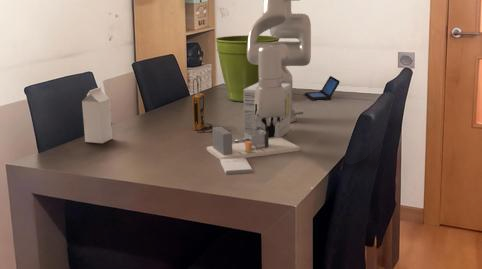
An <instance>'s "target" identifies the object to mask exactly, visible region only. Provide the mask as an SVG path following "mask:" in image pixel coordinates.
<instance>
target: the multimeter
mask: <svg viewBox="0 0 482 269" xmlns="http://www.w3.org/2000/svg"><path fill="white" fill-rule="evenodd" d="M198 78H199V79H198ZM199 80H200V81H202V77H200V76H196V78H193V81H192V85H193V86H192V90H193V93H195V87H194V84H195V81H196V94H193V95H192V102H191V103H192V125H193V130H194V131H196V132H197V133H201V134H203V133H208V132H212V128H213V127H214V126H212V124H211V123H208V125H209V126H208V128H211V129H208V130H205V131H201V130H202V129H203V128H204V127H205V126H206V125H207V123H206V121H205V120H206V117H205V116H206V115H205V94H204V93H202V91H200V86H199Z"/></svg>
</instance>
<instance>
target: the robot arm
mask: <svg viewBox="0 0 482 269" xmlns="http://www.w3.org/2000/svg"><path fill="white" fill-rule="evenodd" d="M292 1H293V2H294V1H298V2H299V0H263V2H262V4H263V5H262V13H261V14H262V15H261V16H260V17H259V18H258V19H257V20H256V21H255V22H254V24H253V25H252V26H251V28H250V30H249V32H248V43H247V59H248V61H249V62H250V63H251V64H255V65H259V87H256V91H255V97H254V115H256V116H255V120H256V121H260V122H263V123H264V125H265V130H267V131H268V137H269V138H271V137H274V134H275V125H276V124H277V122H278V121H279V120H281V119H283V118H285V95H284V90H283V87H282V86H281V85H282V83H285V84H291V105H290V123H294V122H296V121H297V117H296V116H297V115H303V114H304V109H297V108H296V109H295V108H294V107H293V75H292V73H291V72H290V71H289V69H288V68H287V67H305V66H308V65H309V64H310V63H311V59H312V58H311V57H312V26H311V25H312V24H311V19H310V17H309V15H307V14H306V13H292ZM266 31H269V34H270V36H272V37H274V38H280V39H295V40H298V41H288V40H287V41H286V40H285V41H280V40H278V42H272V43H271V42H257V43H256V40H257V38H258V36H261V35H262V34H263V33H265V32H266ZM269 117H271V118H270V120H269Z"/></svg>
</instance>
